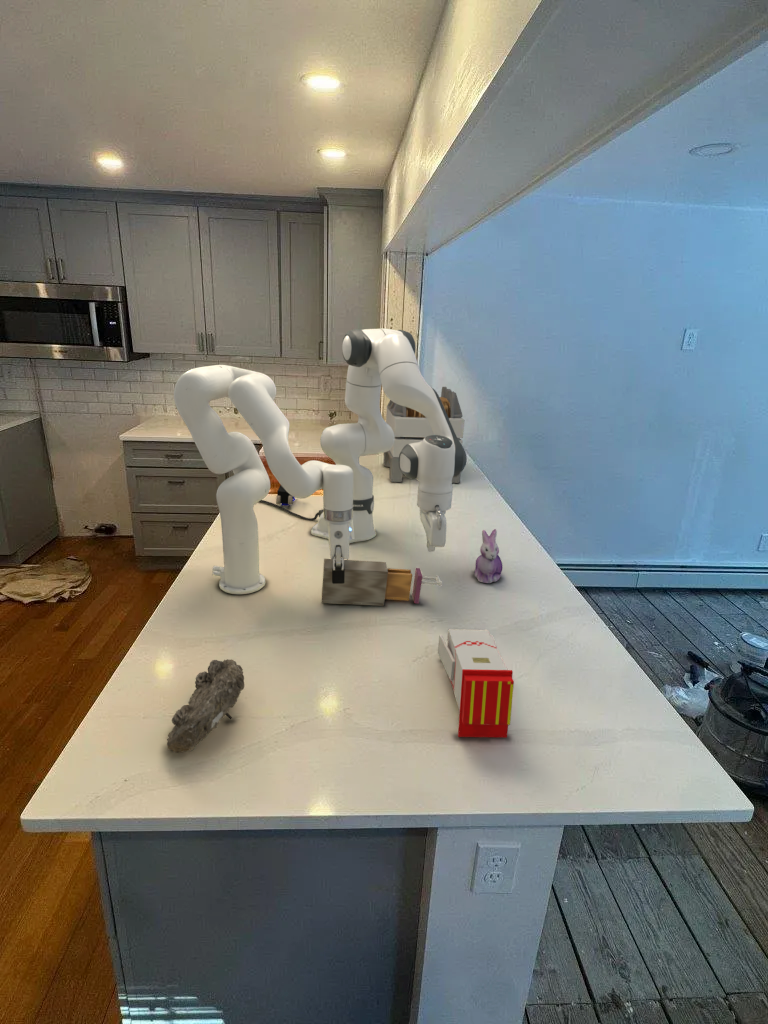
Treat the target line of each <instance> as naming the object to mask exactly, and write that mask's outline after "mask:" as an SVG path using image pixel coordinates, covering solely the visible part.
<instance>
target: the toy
mask: <svg viewBox="0 0 768 1024" xmlns="http://www.w3.org/2000/svg"><path fill="white" fill-rule="evenodd" d="M446 640H447V643H446V641H445V639H444V636H443V635H442V634H439V637H438V646H437V656H438V657H439V659H440V661H441V663H442V666H443V668H444V670H445V672H446V674H447V677H448V679H449V681H450V684H451V687H452V690H453V693H454V697H455V701H456V705H457V708H458V711H459V714H458V715H459V716H458V730H457V731H458V732H457V737H458V738H508V731H509V726H510V725H511V717H512V707H513V697H514V696H513V695H514V684H515V680H514V679H513V673H514V671H513V670H512V669H508V667H507V665H506V662H505V661H504V659H503V658H502V655H501V653H500V651H499V649H498V647H497V643H496V639H495V637H494V635H493V634H491V632H490V631H489V629H467V628H466V629H465V628H463V629H461V628H460V629H459V628H448V630H447V639H446Z"/></svg>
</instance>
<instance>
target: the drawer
mask: <svg viewBox="0 0 768 1024" xmlns="http://www.w3.org/2000/svg"><path fill="white" fill-rule="evenodd" d="M387 570H388V576H387V584H386V593H385V600H390V601H391V600H392V601H410V596H412V600H413V603H414V604H420V597H421V590H422V585H437V586H438V587H441V586H442V585H443V581H442V580H441V577H440V576H439V575H436V576H424V575H423V573H422V570H421V568H420V567H415V569H414V570H415V571H414V577H413V573H412V569H409V568H408V569H406V568H405V569H404V568H389V567H387ZM412 580H413V585H412ZM430 580H431V581H430ZM411 588H412V592H411Z"/></svg>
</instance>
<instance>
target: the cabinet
mask: <svg viewBox="0 0 768 1024" xmlns="http://www.w3.org/2000/svg"><path fill="white" fill-rule="evenodd" d="M335 563H336V560H335ZM341 563H342V560H341ZM387 568H388V566H387V562H385V561H372V560H355V559H348V560H347V559H344V569H345V580H344V583H343V584H333V583H332V569H333V560H332V559H331V558H323V570H322V583H321V604H334V605H335V604H336V605H355V606H356V605H357V606H374V607H375V606H377V607H378V606H379V607H384V606H385V602H386V601H385V600H386V599H385V593H386V584H387V576H388V570H387Z"/></svg>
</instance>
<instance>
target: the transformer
mask: <svg viewBox="0 0 768 1024" xmlns="http://www.w3.org/2000/svg"><path fill="white" fill-rule="evenodd" d="M440 393H441V394H440V396H439V397H440V399H441V402H442V404H443V406H444V408H445V411H446V413H447V415H448V418H449V420H450V422H451V425H452V427H453V429H454V432H455V434H456V436H457V438H458V440H459V441H460V443H461V444H462V445H463V442H464V441H463V440H462V439H463V438H464V431H465V430H464V429H465V419H464V418H463V411H462V408H461V405H460V402H459V398H458V395H457V392H455V391H453V390H452V389H451V388H447V386H442V387H441V392H440ZM385 414H386V415H385V422H386V423H387V424H388V425H389V426H390V427H391V428H392V430H393V432H394V437H395V440H394V444H393V446H392V448H391V449H390V450H389V451H387V452H384V453H383V466H384V467H388V468H389V475H388V476H389V477H388V478H389V480H390V482H391V483H402V482H403V476H404V474H403V473H402V472H401V471H400V469H399V455H400V452H401V450H402V449H403V447H404V446H405V445H407V444H410V443H416V442H420V441H423V439H424V438H425V437H426V436H429V435H434V433H433V431H432V428H431V426H430V424H429V421H428V419H427V418H426V417H425V416H424V415H423V414H421V413H420V412H418V411H416V410H413V409H411V408H408V407H405V406H401V405H398V404H396V403H394V402H393V401H391V400H390V399H389V402H388V404H387V405H386V413H385ZM461 474H462V472H461V473H460V474H459V475H458V476H457V477H455V478H452V484H455V483H456V484H459V483H461Z"/></svg>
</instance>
